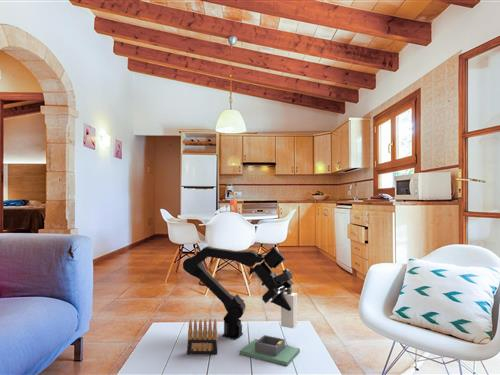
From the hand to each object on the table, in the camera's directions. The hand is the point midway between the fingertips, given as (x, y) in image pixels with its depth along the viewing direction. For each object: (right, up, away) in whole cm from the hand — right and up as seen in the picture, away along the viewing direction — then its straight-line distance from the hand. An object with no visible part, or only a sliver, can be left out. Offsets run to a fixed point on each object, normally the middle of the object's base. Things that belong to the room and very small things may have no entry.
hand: (292, 308), depth 126 cm
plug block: (-1, -7, 0) cm, 7 cm away
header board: (-9, -13, -8) cm, 18 cm away
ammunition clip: (-33, -13, -9) cm, 37 cm away
